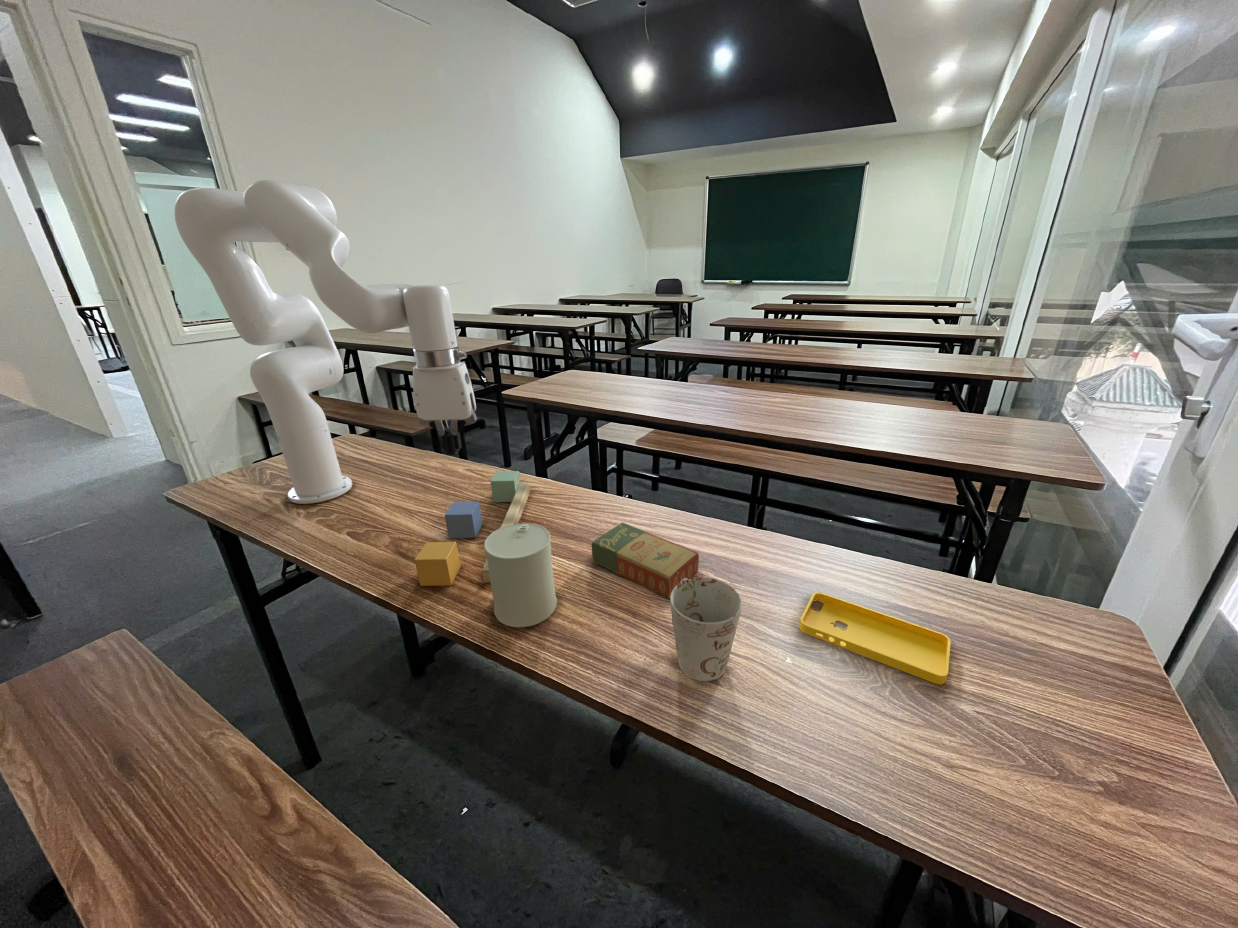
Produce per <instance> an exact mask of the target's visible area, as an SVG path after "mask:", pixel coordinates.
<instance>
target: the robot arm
mask: <svg viewBox="0 0 1238 928" xmlns="http://www.w3.org/2000/svg"><path fill="white" fill-rule="evenodd" d="M174 221H175V225H176V229H177V231H178V233H179V236H180V238H181V240H182V241H183V243H184V244H185V247H187V249H188V251H189V253H191V255H192V256H193V258H194V259H195V260H196V261H197V263H198V264H199V266H200V267H201V268H202V269H203V271H204V272H205V274H206V275H207V277H208V279H209V280H210V282H211V285H212V286H213V289H214V290H215V292H216V294H217V296H218V299H219V301H220V302H221V304H222V306H223V308H224V310H225V311H226V314H227V315H228V317H229V320H230V321H231V323H232V325H233V327H234V329H235V330H236V332H237V334H238V335H239V337H240V338H241V339H242V340H243V341H244V342H245V343H247V344H250V345H252V346H269V345H270V346H271V345H276V344H281V343H287V342H293V343H294V345H295V346H294V347H287V348H283V349H278V350H273V351H269V352H265V353H264V354H261V355H259V356H257V357H256V358H255V359H254V360H253V362H252V363H251V365H250V366H249V376H250V379H251V381H252V383H253V385H254V387H255V389H256V390H257V393H258V394H259V396H260V398H261V399H262V401H263V403H264V405H265V408H266V409H267V412H268V414H269V417H270V420H271V423H272V426H273V428H274V432H275V434H276V439H277V440H278V443H279V446H280V450H281V453H282V456H283V459H284V462H285V464H286V468H287V470H288V475H289V477H290V480H291V483H292V486H293V487H292V488H291V489H290V490H289V491H288V493H287V498H288V500H289V501H290V502H291V503H293V504H297V505H298V504H299V505H310V504H317V503H323V502H326V501H329V500H332V499H336V498H339V497H341V496H342V495H344V494H346V493H347V492H349V491H350V490H351V489H352V487H353V481H352V479H351V478H350V477H349V476H347V475H343V474H342V471H341V468H340V464H339V460H338V456H337V453H336V449H335V446H334V442H333V439H332V434H331V431H330V428H329V424H328V421H327V417H326V415H325V412H324V410H323V409H322V407H321V406H320V405H319V404H318V403H317V402H316V401H315V400H314V399H312V397H311V396H310V395H309V394H311V393H313V392H317V391H320V390H323V389H326V388H329V387H333V386H335V385H336V384H338V383H340V381H341V380H342V379H343V376H344V372H345V371H344V364H343V360H342V358H341V355H340V352H339V350H338V348H337V346H336V344H335V341H334V339H333V337H332V334H331V332H330V331H329V328H328V326H327V324H326V321H325V319H324V317H323V316H322V313H321V312H320V310H319V309H318V307H317V305H315V303H314V302H313V301H311V299H309V298H308V297H307V296H305V295H303V294H301V293H297V292H292V291H291V292H290V291H289V292H287V291H286V292H274V291H273V290H272V288H271V286H270V285H269V283H268V281H267V278H266V276H265V275H264V272H263V270H262V269H261V268H260V266H259V265H258V263H256V262H255V261H254V259H252V258H251V257H250V256H249V255H248V254H247V253H246V252H245V251H243V250H242V249H241V248H239V246H237V245H236V242H239V243H240V242H243V243H245V242H246V243H279V244H280V245H282V246H283V247H284V248H285V249H286V250H288V251H289V252H290V253H291V254H292V255H293V256H295V257H296V258H297V259H298V260H299V261H301V262H302V263H303V264H304V265H306V267H307V268H308V274H309V280H310V282H311V285H312V287H313V290H314V291H315V293H316V295H317V297H318V298H319V300H320V301H321V302H322V303H323V305H324V306H326V308H328V310H330V311H331V312H332V313H333V314H335V315H336V316H337V317H338V318H339V319H341V321H343V322H344V323H346V324H347V325H349V326H350V327H352V328H353V329H356V330H357V331H360V332H362V333H366V334H376V333H381V332H385V331H391V330H396V329H397V330H399V329H403V328H408V330H409V336H410V341H411V346H412V350H413V356H414V357H413V358H414V362H415V365H414V366H413V368H412V389H413V390H412V391H413V397H414V398H413V400H414V407H415V411H416V415H417V417H418V423H419V425H420V426H425V427H431V428H432V429H433V430H435V431H436V433H438V435H439V436H440V437H441V441H442V447H443V450H446V451H445V452H446V455H447V456H452V455H453V456H456V455H457V454H458V453H459V452H460V450H461V449H462V440H461V433H460V431H461V430H462V429H463V428H464V427H465V426H470V425H473V424H476V423H477V421H478V416H477V415H476V410H477V404H476V397H475V393H474V389H473V384H472V381H471V377H470V373H469V370H468V368H467V364H466V363H465V362H461V360H463V359H467V358H468V353H467V351H466V350H462V349H460V346H458V340H457V335H456V328H455V321H454V313H453V308H452V302H451V296H450V292H449V290H448V288H447V287H445V286H444V285H441V284H420V285H419V284H416V285H413V284H408V283H400V282H399V283H379V284H368V285H367V284H366V285H362V284H361V283H360V282H359V281H357V280H356V279H355V278H354V277H353V276H351V275H350V274H349V273H348V272H346V271H345V270H344V269H343V268H342V267H343V266H344V264H345V262H346V261H347V259H348V257H349V254H350V250H351V249H350V248H351V246H350V241H349V239H348V237H347V236H346V234H345V233H343V231H341V230H340V229H339V228H337V225H338V224H337V223H338V215H337V210H336V208H335V206H334V203H333V202H332V200H331V199H330V198H329V197H328V196H327V195H326V193H324V192H323V191H321V190H320V189H318V188H316V187H314V186H312V185H307V184H302V183H295V182H287V181H282V180H274V179H263V180H258V181H256V182H253V183H251V184H250V185H249V186H248V187H247V188H246V189H245V191H240V190H233V189H225V188H215V187H196V188H191V189H188V190H185V191H183V192H181V193H180V194H179V196H177V198H176V199H175V204H174ZM448 421H450V427H449V424H448Z"/></svg>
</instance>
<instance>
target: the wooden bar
mask: <svg viewBox="0 0 1238 928" xmlns="http://www.w3.org/2000/svg"><path fill="white" fill-rule="evenodd" d="M530 494H531V485H530V482H520V484H519V487H518V489H517V491H516V494H515V496H514V498H513V500H512V502H510V505H509V507H508V510H507V512H506V514H505V517H504V519H503V521H502V524H501V526H500V528H502V527H505V526H508V525H512V524H519V523H520V520H521V517H522V515H523V512H524V510H525V507H526V504H527V503H528V499H529V496H530ZM481 575H482V581H483V584H488V583H489V584H491V581H490V575H489V569H488V563H487V559H485V562H484V564H483V567H482V569H481Z"/></svg>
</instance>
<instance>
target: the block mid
mask: <svg viewBox="0 0 1238 928" xmlns="http://www.w3.org/2000/svg"><path fill="white" fill-rule="evenodd" d="M444 520H445V524H446V525H445V526H446V530H447V536H448V539H476V538H477V536H478V534H479V532H480V531H481V528H482V526H483V525H484V523H483V517H482V511H481V505H480V501H453V502H452V503H451V505H450V506H449V508H448V509H447V510H446V512H445V514H444Z"/></svg>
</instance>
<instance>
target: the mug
mask: <svg viewBox="0 0 1238 928" xmlns="http://www.w3.org/2000/svg"><path fill="white" fill-rule="evenodd" d="M669 605H670V613H671V620H672V625H673V626H672V627H673V635H674V642H675V650H676V656H677V663H678V666H679V668H680V670H681V671H682V673H683V674H684V675H685V676H687V677H688V678H691V679H692V680H695V681H699V682H712V681H715V680H717V679H720V678H721V677H722V676H723V675H724V673H725V672H726V670H727V667H728V662H729V659H730V657H731V652H732V647H733V644H734V639H735V637H736V633H737V629H738V625H739V621H740V617H741V614H742V610H743V609H742V607H743V602H742V598H741V596H740V594H739V593H738V592H737V590H736V588H735V589H734V588H733V587H732V586H731V585H730V584H728V583H727V582H724V581H721V580H719V579H715V578H711V577H693V578H692V579H686V578H684V579H682V580H681V581H680V583H679V584H678V585H676V586H675V587H674V589H673V590H672V592H671V596H670V598H669Z"/></svg>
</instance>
